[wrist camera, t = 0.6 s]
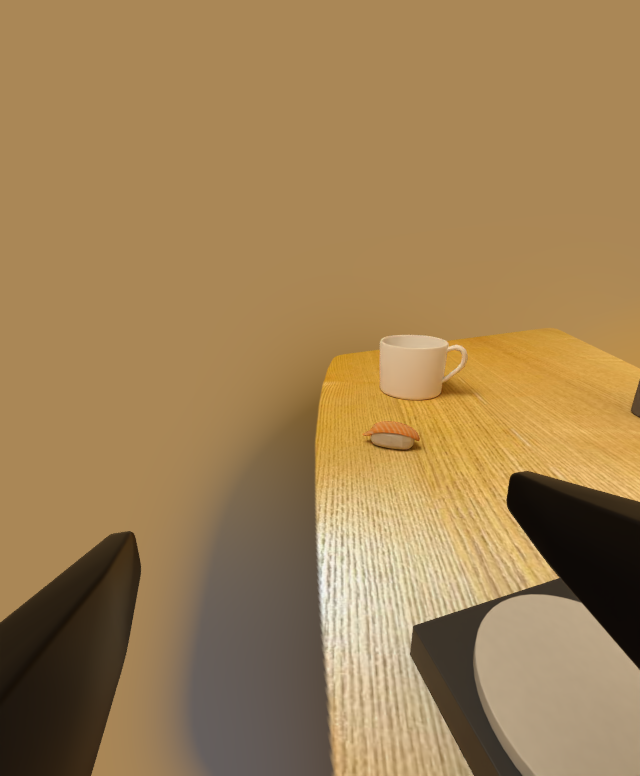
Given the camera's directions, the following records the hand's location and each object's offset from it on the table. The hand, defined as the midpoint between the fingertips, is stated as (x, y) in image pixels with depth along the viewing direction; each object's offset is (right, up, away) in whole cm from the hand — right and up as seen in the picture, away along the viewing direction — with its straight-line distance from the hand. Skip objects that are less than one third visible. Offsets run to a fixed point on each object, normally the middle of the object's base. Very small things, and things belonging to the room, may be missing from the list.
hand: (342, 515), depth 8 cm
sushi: (+8, -4, +33) cm, 35 cm away
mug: (+16, +2, +51) cm, 53 cm away
